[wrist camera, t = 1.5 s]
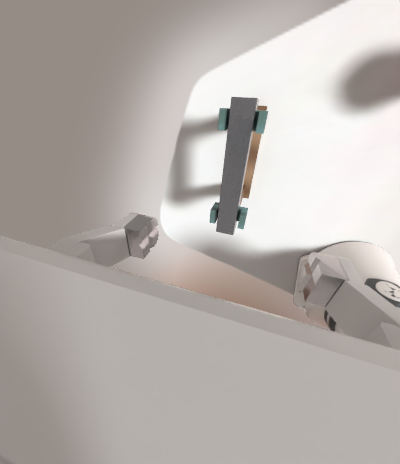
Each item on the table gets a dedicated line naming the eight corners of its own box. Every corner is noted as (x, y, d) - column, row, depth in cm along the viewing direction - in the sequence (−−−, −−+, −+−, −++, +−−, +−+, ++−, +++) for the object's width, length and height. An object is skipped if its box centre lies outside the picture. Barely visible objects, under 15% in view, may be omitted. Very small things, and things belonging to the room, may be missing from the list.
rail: (235, 226, 29) (233, 235, 27) (219, 223, 30) (216, 231, 28) (258, 99, 20) (257, 98, 18) (235, 98, 21) (231, 96, 19)
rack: (251, 195, 38) (242, 232, 27) (227, 192, 39) (209, 225, 28) (270, 106, 30) (269, 105, 19) (238, 104, 31) (220, 102, 20)
